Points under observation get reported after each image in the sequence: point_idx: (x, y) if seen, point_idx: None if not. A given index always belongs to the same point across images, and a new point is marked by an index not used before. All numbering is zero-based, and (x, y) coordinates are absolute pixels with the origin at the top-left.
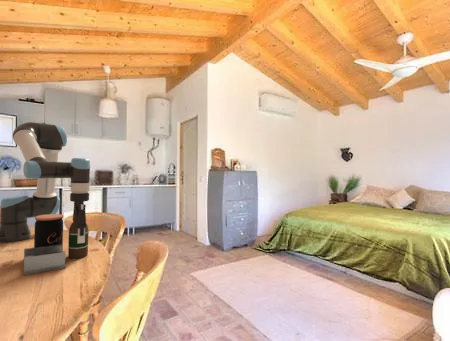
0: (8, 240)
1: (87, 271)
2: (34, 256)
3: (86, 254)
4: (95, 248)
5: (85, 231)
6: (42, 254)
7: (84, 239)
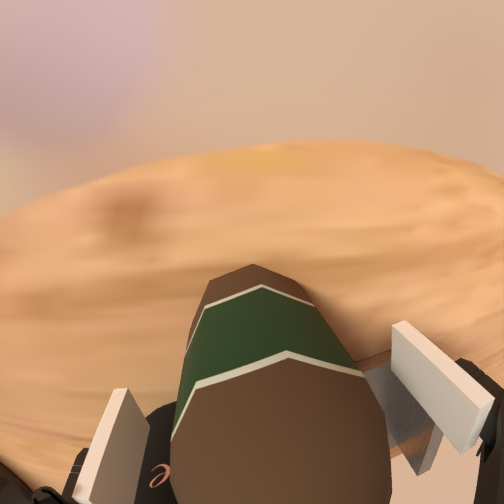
0: (29, 493)
1: (481, 243)
2: (435, 454)
3: (267, 270)
4: (97, 218)
5: (362, 386)
6: (432, 444)
7: (421, 335)
